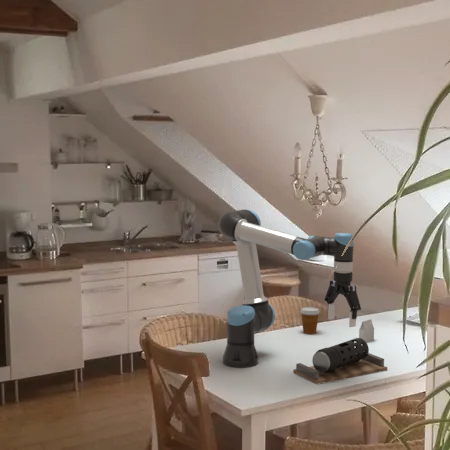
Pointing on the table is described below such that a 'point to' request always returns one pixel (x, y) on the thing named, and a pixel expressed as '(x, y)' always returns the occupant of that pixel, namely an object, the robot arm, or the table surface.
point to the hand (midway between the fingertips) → (341, 322)
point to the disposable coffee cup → (309, 319)
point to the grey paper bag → (367, 331)
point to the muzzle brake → (340, 355)
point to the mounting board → (342, 370)
